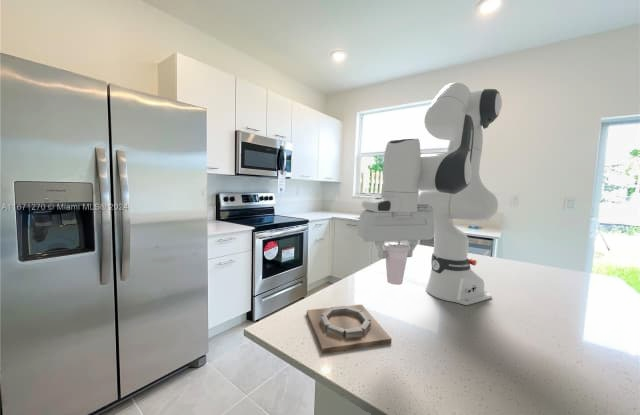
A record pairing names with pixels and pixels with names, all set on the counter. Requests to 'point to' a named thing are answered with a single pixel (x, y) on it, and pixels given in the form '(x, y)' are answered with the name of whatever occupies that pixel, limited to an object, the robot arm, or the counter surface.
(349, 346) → the socket
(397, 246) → the smoothie
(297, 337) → the counter surface
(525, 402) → the counter surface
